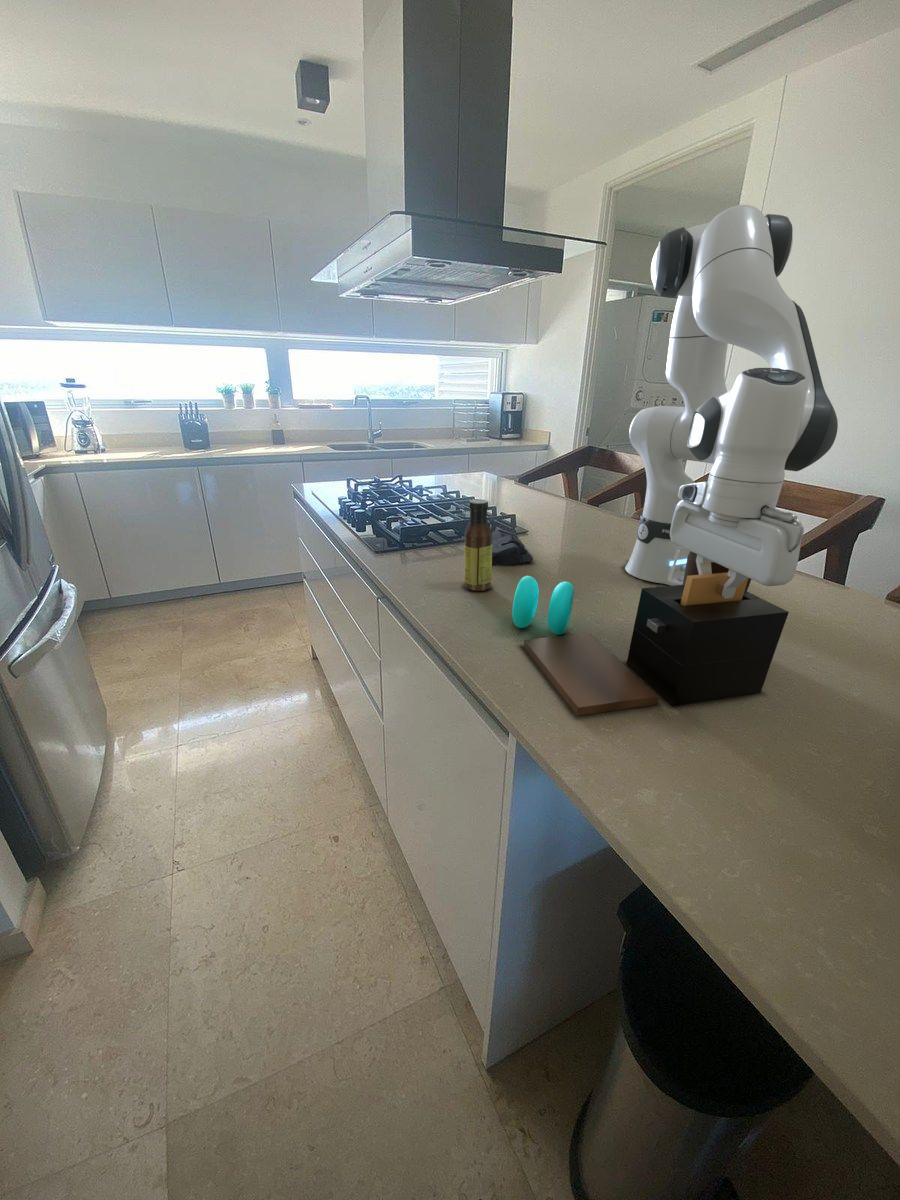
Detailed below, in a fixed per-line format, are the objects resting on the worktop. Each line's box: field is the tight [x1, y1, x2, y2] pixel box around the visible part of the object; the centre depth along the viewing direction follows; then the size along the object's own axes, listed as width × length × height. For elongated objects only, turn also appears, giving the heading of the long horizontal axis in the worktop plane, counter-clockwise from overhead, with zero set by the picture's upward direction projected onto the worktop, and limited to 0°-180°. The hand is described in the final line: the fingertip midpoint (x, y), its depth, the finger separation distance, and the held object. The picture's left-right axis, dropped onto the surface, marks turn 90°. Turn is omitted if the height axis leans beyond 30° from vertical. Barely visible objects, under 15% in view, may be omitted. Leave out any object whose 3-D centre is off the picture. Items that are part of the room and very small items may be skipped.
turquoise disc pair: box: [511, 575, 575, 636], centre depth 91 cm, size 10×10×10 cm
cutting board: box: [523, 632, 659, 717], centre depth 79 cm, size 13×20×2 cm, turn 14°
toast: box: [680, 573, 748, 606], centre depth 74 cm, size 10×1×11 cm, turn 104°
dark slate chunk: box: [492, 529, 534, 566], centre depth 134 cm, size 15×22×5 cm
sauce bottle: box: [463, 498, 493, 592], centre depth 107 cm, size 7×6×20 cm
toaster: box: [625, 585, 790, 707], centre depth 76 cm, size 18×12×14 cm
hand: (714, 590), depth 72 cm, fingers open, 3 cm apart
